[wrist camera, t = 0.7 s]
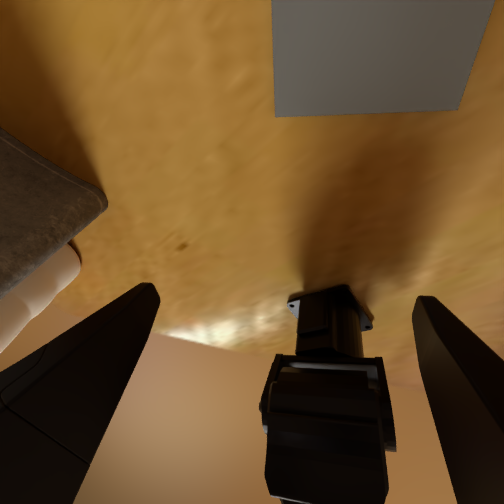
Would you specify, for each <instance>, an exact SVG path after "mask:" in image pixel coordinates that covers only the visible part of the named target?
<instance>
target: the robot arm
mask: <svg viewBox="0 0 504 504" xmlns="http://www.w3.org/2000/svg"><path fill="white" fill-rule="evenodd" d="M343 290H345V291H343ZM292 304H293V305H292ZM159 305H160V296H159V294H158V292H157V290H156V288H155V286H154V285H153V284H152V283H147V282H142V283H140V284H138V285H137V286H135V287H134V288H132V289H130V290H129V291H127V292H126V293H124V294H123V295H121V296H120V297H118V298H117V299H115V300H113V301H112V302H110V303H109V304H107V305H106V306H104V307H103V308H101V309H99V310H98V311H96V312H95V313H93V314H92V315H90V316H89V317H87V318H86V319H84V320H83V321H81V322H79V323H78V324H76V325H75V326H73V327H72V328H70V329H69V330H67V331H66V332H64V333H62V334H61V335H59V336H58V337H56V338H55V339H53V340H52V341H50V342H49V343H47V344H45V345H44V346H42V347H41V348H39V349H37V350H36V351H34V352H33V353H31V354H30V355H28V356H27V357H25V358H23V359H22V360H20V361H18V362H17V363H15V364H13V365H12V366H10V367H8V368H7V369H5V370H3V371H1V372H0V504H73V502H74V500H75V497H76V495H77V493H78V491H79V489H80V486H81V484H82V482H83V480H84V478H85V476H86V473H87V471H88V469H89V467H90V464H91V462H92V460H93V458H94V456H95V453H96V451H97V449H98V447H99V445H100V442H101V440H102V438H103V436H104V434H105V432H106V429H107V427H108V425H109V423H110V421H111V418H112V416H113V414H114V412H115V410H116V408H117V405H118V403H119V401H120V399H121V396H122V394H123V392H124V390H125V388H126V386H127V383H128V381H129V379H130V377H131V375H132V373H133V371H134V368H135V366H136V364H137V362H138V360H139V357H140V355H141V353H142V351H143V349H144V347H145V344H146V342H147V340H148V337H149V334H150V332H151V329H152V326H153V323H154V320H155V317H156V314H157V311H158V308H159ZM287 307H288V308H289V309H290V311H291V312H292V313H293V314H294V316H295V317H296V318H297V319H298V322H297V331H296V332H297V340H296V350H295V354H296V355H283V354H276V356H275V359H274V362H273V363H272V366H271V369H270V372H269V375H268V378H267V381H266V384H265V387H264V391H263V394H262V396H261V401H260V403H259V410H260V412H261V413H262V424H263V429H264V432H265V434H267V451H266V464H265V480H266V483H267V487H268V490H269V493H270V495H271V496H272V497H275V498H280V501H281V503H282V504H384V503H385V499H386V496H387V494H388V490H389V483H388V475H387V465H386V457H385V451H391V452H396V436H395V427H394V420H393V413H392V406H391V400H390V395H389V390H388V385H387V379H386V374H385V369H384V364H383V359H382V357H375V358H364V354H363V344H362V334H361V332H362V331H368V330H371V329H372V328H373V325H372V322H371V321H370V319H369V317H368V316H367V314H366V313H365V311H364V309H363V308H362V306H361V305H360V303H359V301H358V300H357V298H356V297H355V295H354V294H353V292H352V290H351V289H350V287H349V286H347V285H341V286H337V287H334V288H330V289H327V290H323V291H320V292H316V293H312V294H309V295H305V296H302V297H298V298H295V299H291V300H289V301H288V302H287ZM412 323H413V330H414V336H415V343H416V349H417V356H418V362H419V368H420V372H421V376H422V380H423V384H424V387H425V391H426V394H427V398H428V401H429V405H430V408H431V412H432V415H433V419H434V422H435V426H436V430H437V433H438V436H439V440H440V443H441V447H442V451H443V454H444V457H445V461H446V465H447V468H448V472H449V475H450V479H451V483H452V486H453V490H454V493H455V496H456V500H457V504H504V361H503V359H502V358H500V357H499V356H498V355H497V354H496V353H495V352H494V351H493V350H492V349H491V348H490V347H489V346H487V345H486V344H485V343H484V342H483V341H482V340H481V339H480V338H479V337H478V336H477V335H476V334H475V333H473V332H472V331H471V330H470V329H469V328H468V327H467V326H466V325H465V324H464V323H463V322H462V321H461V320H459V319H458V318H457V317H456V316H455V315H454V314H453V313H452V312H451V311H450V310H449V309H448V308H446V307H445V306H444V305H443V304H442V303H441V302H440V301H439V300H438V299H437V298H435V297H434V296H418V297H417V299H416V303H415V306H414V310H413V313H412Z"/></svg>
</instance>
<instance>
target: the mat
mask: <svg viewBox="0 0 504 504" xmlns="http://www.w3.org/2000/svg"><path fill="white" fill-rule="evenodd" d="M271 1H272V33H273V65H274V96H275V117H295V116H321V115H346V114H372V113H398V112H423V111H449V110H458V107H459V104H460V101H461V98H462V96H463V93H464V90H465V87H466V84H467V81H468V78H469V75H470V72H471V69H472V66H473V64H474V61H475V58H476V55H477V52H478V49H479V46H480V43H481V40H482V37H483V34H484V32H485V29H486V26H487V23H488V20H489V17H490V14H491V11H492V8H493V5H494V2H495V0H271Z"/></svg>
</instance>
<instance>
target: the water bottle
mask: <svg viewBox="0 0 504 504" xmlns="http://www.w3.org/2000/svg"><path fill="white" fill-rule="evenodd" d="M80 270H81V264H80V260H79V257H78V255H77V254H76V252H75V251H74V250H73V249H72V247H71V246H70V245H69V244H68V243H66V244H65V245H64V246H63V247H62V248H60V249H59V250H58V251H57V252H56V253H55V254H53V255H52V256H51V257H50V258H49V259H48V260H46V261H45V262H44V263H43V264H42V265H40V266H39V267H38V268H37V269H36V270H35V271H33V272H32V273H31V274H30V275H29V276H28V277H26V278H25V279H24V280H23V281H22V282H21V283H19V284H18V285H17V286H16V287H15V288H14V289H12V290H11V291H10V292H9V293H8V294H7V295H5V296H4V297H3V298H2V299H1V300H0V353H1V352H2V351H3V350H4V349H5V348H6V347H7V346H8V345H9V344H10V343H11V342H12V340H13V339H14V338H15V337H16V336H17V335H18V334H19V332H21V330H22V329H23V328H24V327H25V325H26V324H27V323H28V322H29V321H30V320H31V319H32V318H33V317H35V316H37V315H38V314H39V313H40V312H41V311H43V309H45V308H46V307H47V305H48V304H49V303H50V302H51V301H52V300H53V298H54V297H55V296H56V294H57V293H59V292H60V291H61V290H62V289H64V288H65V287H66V286H67V285H68V284H69V283H71V282H72V281H73V280H74V279H75V278H76V276H77V275H78V274H79V272H80Z"/></svg>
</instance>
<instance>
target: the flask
mask: <svg viewBox="0 0 504 504" xmlns="http://www.w3.org/2000/svg"><path fill="white" fill-rule="evenodd" d="M107 207H108V201H107V199H106V197H105V195H104V194H103V192H102V191H101V190H99V189H98V188H97V187H95V186H93V185H91V184H89V183H87V182H85V181H83V180H81V179H79V178H77V177H76V176H74V175H72V174H70V173H68V172H67V171H65V170H63V169H61V168H60V167H58V166H56V165H55V164H53V163H52V162H50V161H48V160H47V159H45V158H44V157H42V156H41V155H39V154H38V153H36V152H35V151H33V150H32V149H30V148H29V147H27V146H26V145H24V144H23V143H21V142H20V141H18V140H17V139H15V138H14V137H13V136H11V135H10V134H8V133H7V132H6V131H4V130H3V129H2V128H0V300H1V299H2V298H3V297H4V296H5V295H7V294H8V293H9V292H10V291H11V290H12V289H14V288H15V287H16V286H17V285H18V284H19V283H21V282H22V281H23V280H24V279H25V278H26V277H28V276H29V275H30V274H31V273H32V272H33V271H35V270H36V269H37V268H38V267H39V266H40V265H42V264H43V263H44V262H45V261H46V260H48V259H49V258H50V257H51V256H52V255H53V254H55V253H56V252H57V251H58V250H59V249H60V248H62V247H63V246H64V245H65V244H66V243H67V242H69V241H70V240H71V239H72V238H73V237H74V236H76V235H77V234H78V233H79V232H80V231H82V230H83V229H84V228H85V227H86V226H87V225H89V224H90V223H91V222H92V221H93V220H94V219H96V218H97V217H98V216H99V215H100V214H101V213H103V212H104V211H105V210H106V209H107Z"/></svg>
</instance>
